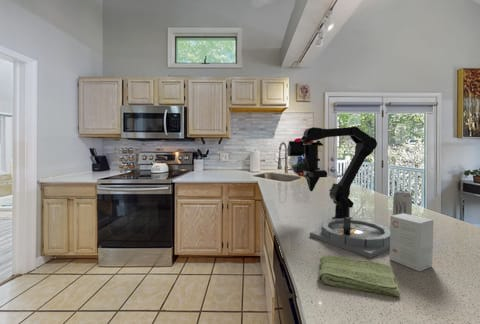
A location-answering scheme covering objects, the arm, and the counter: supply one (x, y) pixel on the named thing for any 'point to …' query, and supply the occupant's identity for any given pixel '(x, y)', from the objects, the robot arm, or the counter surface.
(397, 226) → the small box
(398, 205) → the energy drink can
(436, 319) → the counter surface
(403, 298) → the counter surface
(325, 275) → the washcloth
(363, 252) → the grey round platform
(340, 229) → the dial
